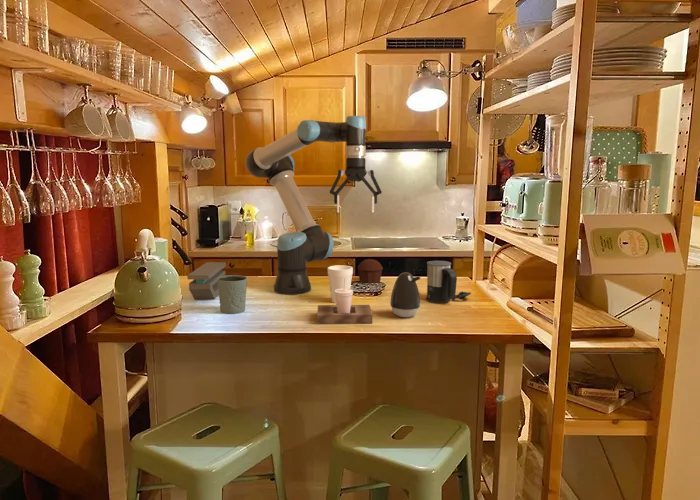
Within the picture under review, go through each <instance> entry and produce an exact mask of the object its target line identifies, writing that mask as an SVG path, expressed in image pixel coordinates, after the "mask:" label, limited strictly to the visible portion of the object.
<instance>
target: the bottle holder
mask: <svg viewBox="0 0 700 500" xmlns="http://www.w3.org/2000/svg"><path fill="white" fill-rule="evenodd" d="M316 313H317V314H316V315H317V317H316V319H317V325H361V324H363V325H367V324H368V325H370V324H373V312H372V309H371V306H370V304H351V308H350V313H338V312H337V305H336V304H332V305H331V304H325V305H324V304H320V305H317V312H316Z"/></svg>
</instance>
